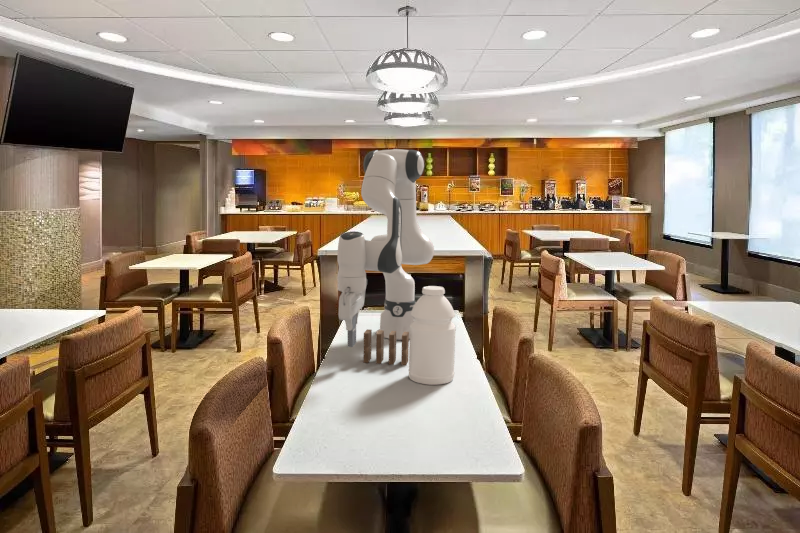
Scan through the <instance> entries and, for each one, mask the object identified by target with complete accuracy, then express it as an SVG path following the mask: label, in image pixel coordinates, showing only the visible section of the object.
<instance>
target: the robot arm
mask: <svg viewBox="0 0 800 533" xmlns="http://www.w3.org/2000/svg"><path fill="white" fill-rule="evenodd" d="M424 169H425V160H424V155H422V153H421V151H419V150H415V149H403V148H402V149H399V148H393V149H382V150H378V149H376V150H372V151H368V152H367V154H365V156H364V158H363V172H364V176H363V181H362V185H361V190H360V194H361V195H360V196H361V198H362V200H363V202H364V203H365V205H366V206H368V207H369V208H370V209H372V210H374V212H375V211H376V212H378V213H380V214H382V215H384V216H386V218H387V224H386V225H387V228H386V229H387V230H386V234H379V235H375V236H373V237H372V238H371V239H370V240H369V239H365V235H364V234H363V232H360V231H355V230H354V231H347V232H344V233H342V234H340V235H339V239H338V242H337V243H338V244H337V245H338V246H337V256H336V257H337V260H336V261H337V265H338V271H337V291H339V292H341V294H340V296H339V300H338V319H339V321H344V322H345V329H346V331H347V332H348V331H351V330H352V329H353V324H352V318H353V316H354V315H355V314H356V325H358V319H359V311H360V310H361V309H362V308H363V307H364V305H365V298H366V289H367V285H368V279H367V273H366V271H374V272H380V273H382V274H383V276H384V280H385V282H384V283H385V299H384V304H383V305H384V310H383V311H382V312H381V313H380V318H379V319H380V320H379V322H380V323H379V329H378V330H376V331H375V335H376V334H377V332H378V331H379V330H384V339H389V334H390V333H391V331H396V341H397V340H398V341H399V340H401V341H402V334H403V333H404V332H409V340H410V324H411V323H412V322H413V321H414V318H413V317H412V316H411V311H412V309H413V306H414V305H415V303H416V302H417V301H416V299H415V292H416V291H415V290H416V289H415V288H416V287H415V284H416V283H415V279H414V278H413V277H412V276H411V275H410V274H409V273H408V272H406V271H405V270H404V269H403V267H402V265H409V266H410V265H412V266H419V265H421V266H422V265H426V264H429V263H430V262H431V261H432V259H433V258H434V255H435V246H434V244H433V242H432V240H431V239H430V238H428V237H427V236H426V234H425V233H424V232H423V231H422V229H421V227H420V225H419V222H418V218H417V216H418V215H417V188H416V181H417V180H419V179H420V178H421V176H422V175H423V173H424Z"/></svg>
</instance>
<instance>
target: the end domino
mask: <svg viewBox="0 0 800 533" xmlns="http://www.w3.org/2000/svg"><path fill="white" fill-rule="evenodd" d="M352 324H353V329H352V330H351V331H348V330H347V348H354V346H355V345H356V343H357V324H356V314H355V315H354V316H353V318H352Z"/></svg>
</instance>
